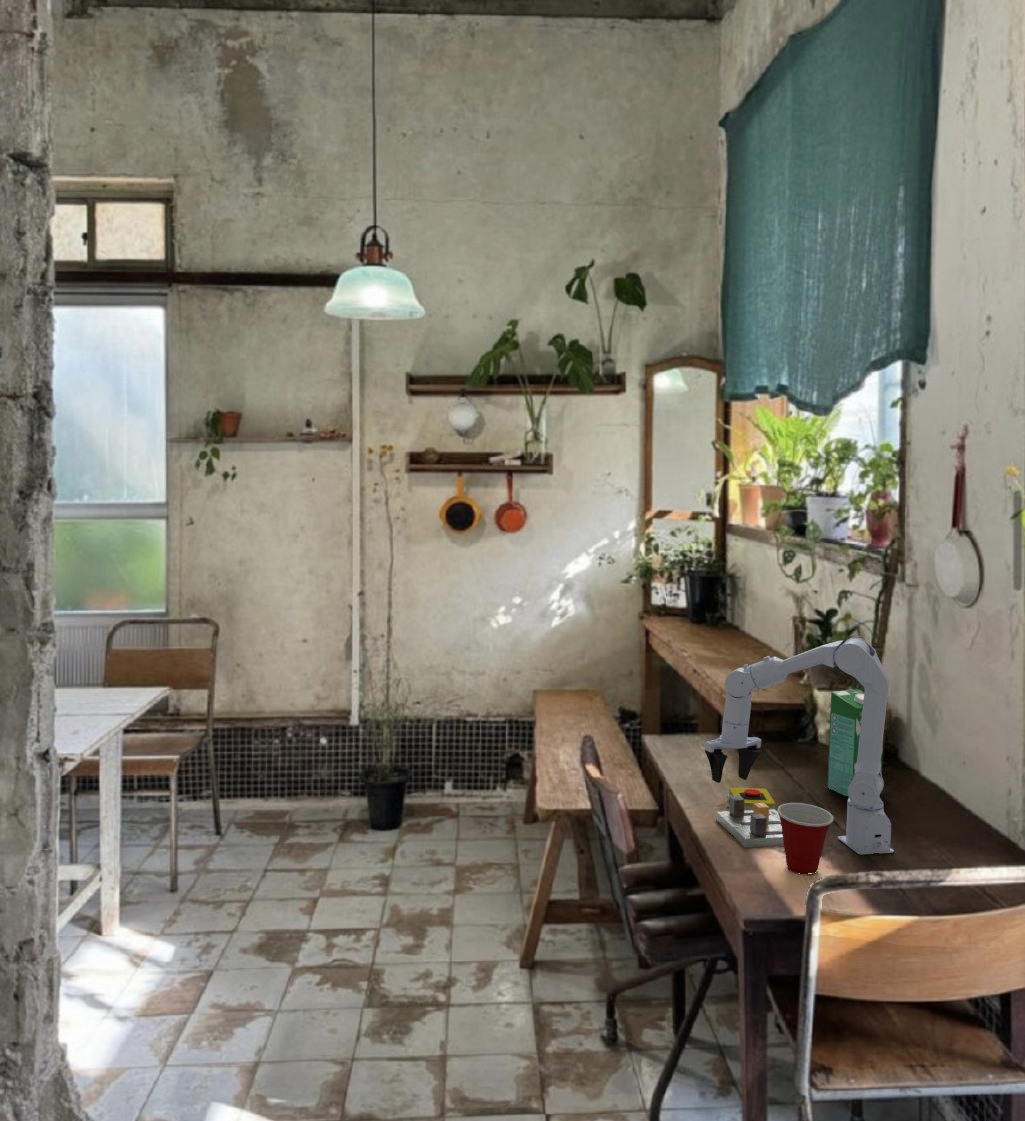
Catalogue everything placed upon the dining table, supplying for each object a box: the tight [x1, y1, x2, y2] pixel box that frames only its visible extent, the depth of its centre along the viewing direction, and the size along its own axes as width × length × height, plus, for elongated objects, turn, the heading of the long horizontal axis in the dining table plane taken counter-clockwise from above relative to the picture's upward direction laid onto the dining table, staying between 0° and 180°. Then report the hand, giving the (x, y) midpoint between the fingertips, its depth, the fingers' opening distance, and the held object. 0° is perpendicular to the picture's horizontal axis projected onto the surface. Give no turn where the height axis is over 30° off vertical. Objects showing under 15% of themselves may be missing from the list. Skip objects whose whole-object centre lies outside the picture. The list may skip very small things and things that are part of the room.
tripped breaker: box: [753, 803, 769, 824], centre depth 216 cm, size 3×2×4 cm
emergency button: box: [727, 787, 776, 811], centre depth 234 cm, size 9×4×15 cm
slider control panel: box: [716, 796, 784, 849], centre depth 216 cm, size 17×14×6 cm
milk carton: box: [827, 688, 884, 798], centre depth 245 cm, size 9×9×25 cm
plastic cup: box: [776, 802, 834, 875], centre depth 195 cm, size 11×11×12 cm
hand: (729, 779), depth 222 cm, fingers open, 7 cm apart
